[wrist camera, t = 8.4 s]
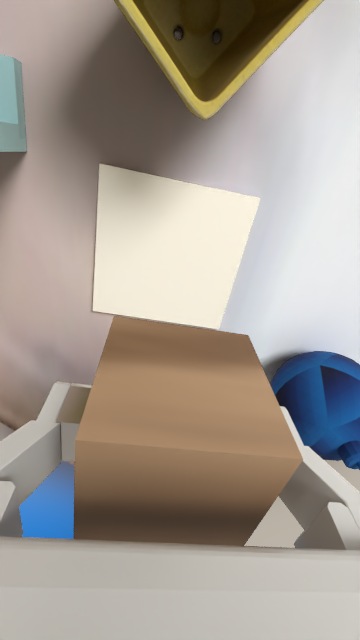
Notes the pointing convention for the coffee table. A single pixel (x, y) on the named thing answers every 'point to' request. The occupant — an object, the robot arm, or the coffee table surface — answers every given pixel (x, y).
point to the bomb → (323, 403)
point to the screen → (11, 106)
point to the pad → (167, 247)
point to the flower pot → (202, 53)
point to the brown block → (179, 439)
